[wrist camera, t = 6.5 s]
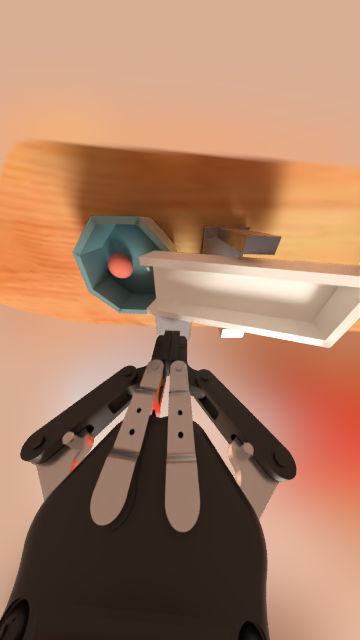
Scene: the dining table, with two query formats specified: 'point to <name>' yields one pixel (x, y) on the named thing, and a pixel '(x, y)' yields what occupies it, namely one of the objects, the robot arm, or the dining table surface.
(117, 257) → the ball
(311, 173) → the dining table surface
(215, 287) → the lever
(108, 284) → the teal octagonal bowl
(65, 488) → the robot arm
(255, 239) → the lever stand
